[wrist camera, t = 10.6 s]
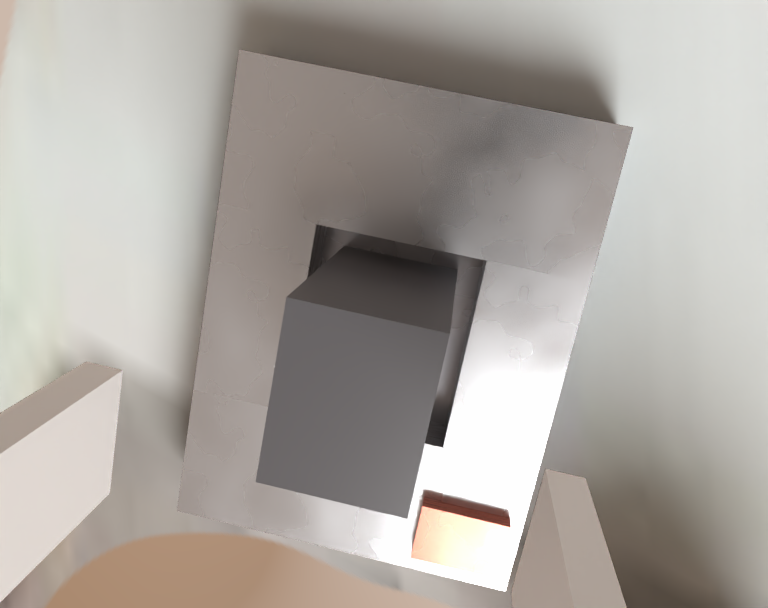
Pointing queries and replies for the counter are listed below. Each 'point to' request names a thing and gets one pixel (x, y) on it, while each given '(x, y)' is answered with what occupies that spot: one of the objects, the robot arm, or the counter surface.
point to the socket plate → (414, 242)
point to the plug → (357, 379)
